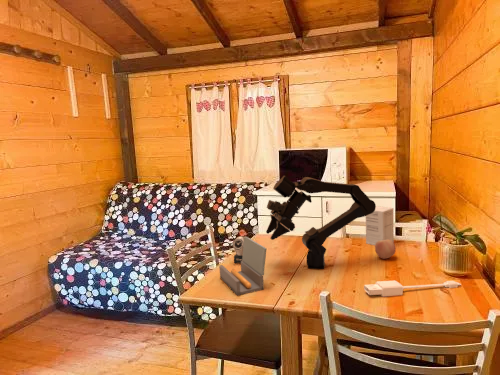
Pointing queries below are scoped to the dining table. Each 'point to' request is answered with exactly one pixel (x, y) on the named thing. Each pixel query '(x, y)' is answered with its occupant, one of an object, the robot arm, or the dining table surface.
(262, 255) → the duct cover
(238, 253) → the watch
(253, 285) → the cable duct
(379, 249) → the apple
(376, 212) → the supplement box
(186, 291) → the dining table surface
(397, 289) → the charging cable
